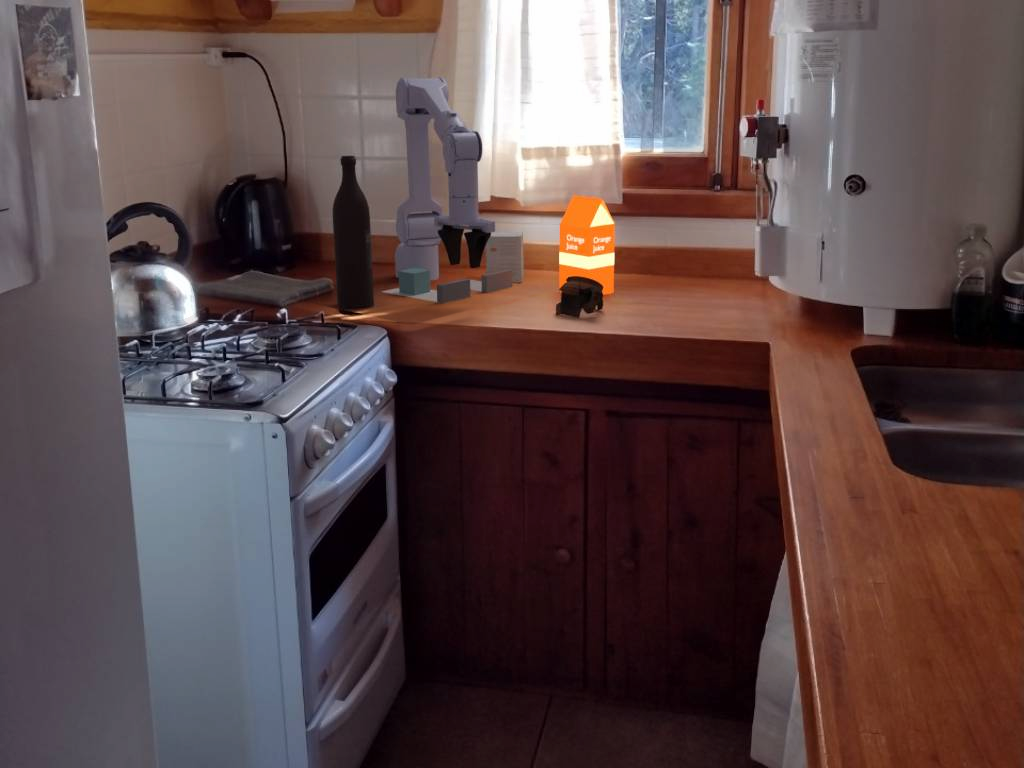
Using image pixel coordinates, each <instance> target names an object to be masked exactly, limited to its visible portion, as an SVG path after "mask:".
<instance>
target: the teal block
mask: <svg viewBox="0 0 1024 768" xmlns="http://www.w3.org/2000/svg"><path fill="white" fill-rule="evenodd" d="M398 288H399V293H404V294H410V295H419V294H423V293H427V292H430V289H431V281H430V270H424V269H418V268H412V269H407V270H401V271H399V278H398Z"/></svg>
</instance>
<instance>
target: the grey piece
mask: <svg viewBox="0 0 1024 768" xmlns="http://www.w3.org/2000/svg"><path fill="white" fill-rule="evenodd" d="M470 280H471V279H469V278H462V279H456V280H453V281H447V282H444V283H443V282H442V283H438V284H436V289H431V288H430V292H427V293H423V294H419V295H410V294H404V293H399V287H395V288H392V289H387V290H383V291H381V293H385V294H390V295H397V296H400V297H406V298H412V299H418V300H421V301H422V300H423V301H429V302H433V303H439V304H446V303H450V302H455V301H458V300H462V299H466V298H470V297H471V290H470Z"/></svg>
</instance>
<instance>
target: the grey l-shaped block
mask: <svg viewBox="0 0 1024 768" xmlns="http://www.w3.org/2000/svg"><path fill="white" fill-rule="evenodd" d="M513 284H514V283H512V270H508V269H506V270H502V271H497V272H493V273H488V274H486V273H485V274H484V273H483V274H481V281H480V280H475V279H470V291H474V292H478V293H479V292H480V293H486V294H488V293H492V292H497V291H501V290H504V289H509V288H512V287H513Z"/></svg>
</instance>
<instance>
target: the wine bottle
mask: <svg viewBox="0 0 1024 768" xmlns="http://www.w3.org/2000/svg"><path fill="white" fill-rule="evenodd" d="M339 160H340V165H341V172H342V173H341V174H342V175H341V183H340V185H339V188H338V190H337V193H336V194H335V197H334V200H333V205H332V228H333V230H332V231H333V245H334V263H335V264H334V265H335V280H336V283H335V284H336V297H337V298H336V299H337V310H338V313H339V314H342V315H345V316H364V313H363V312H357V311H352V310H365V309H369V308H373V307H374V306H375V299H374V298H375V297H374V275H373V274H374V273H373V255H372V253H373V252H372V234H371V214H370V207H369V203H368V200H367V197H366V196H365V193H364V192H363V190H362V189H361V186H360V185H359V183H358V180H357V173H356V165H357V159H356V156H355V155H341V158H340V159H339Z"/></svg>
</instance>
